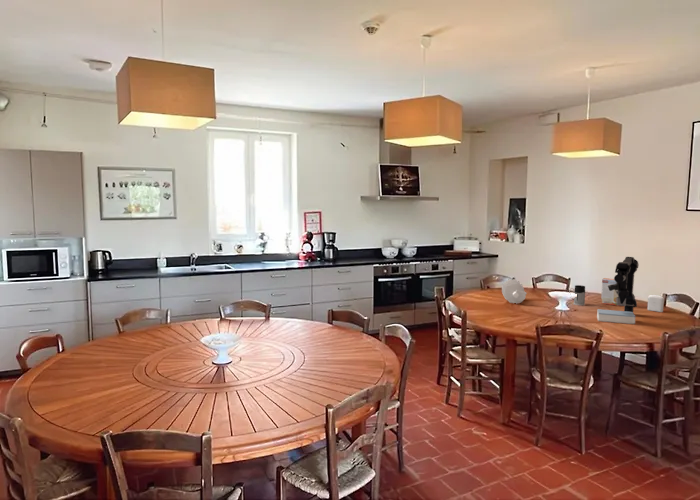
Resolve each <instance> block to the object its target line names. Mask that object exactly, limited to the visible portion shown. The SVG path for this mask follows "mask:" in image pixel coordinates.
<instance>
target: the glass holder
mask: <svg viewBox="0 0 700 500" xmlns="http://www.w3.org/2000/svg"><path fill="white" fill-rule="evenodd" d="M571 290H573V294H574V293H575V294H577V297H575V298H574V297H572V298H571V299H572V300H573V302H572V305H575V306H586V304H585V303H586V286H585V285H579V284H576V285H574V288H573V287H571V288H569V290H568V291H569V292H568V294H569V293H570V294H571Z"/></svg>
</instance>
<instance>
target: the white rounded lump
mask: <svg viewBox="0 0 700 500" xmlns="http://www.w3.org/2000/svg"><path fill="white" fill-rule="evenodd" d="M501 293H502V296H503V297H504V299H505V300H506V301H507V302H509V304H514V303H516V304H520V303H523V301H524V300H526V296H527V294H528V293H527V292H526V291H525V288H524V286H523V284H522V283H521V282H520V281H519V280H517V279H515V278H513V279H512V278H511V279H510V278H509V279H507V280H506V281H503V284H502V286H501Z"/></svg>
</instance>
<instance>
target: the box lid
mask: <svg viewBox="0 0 700 500" xmlns="http://www.w3.org/2000/svg"><path fill="white" fill-rule="evenodd" d="M596 311H598V313H599V314H603V315H615V316H626V317H635V318H636V315H635V314H634V311H633V312H627V311H624V310H613V309H600V308H597V310H596Z"/></svg>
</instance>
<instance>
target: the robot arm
mask: <svg viewBox="0 0 700 500" xmlns="http://www.w3.org/2000/svg"><path fill="white" fill-rule="evenodd" d="M638 268H639V261H638V260H637V259H635V257H633V256H625V259H624V260H623V261H619V262H618V263H616V266H615V271H614V273H616V274H615V275H614V277H613V279H614V280H615V281H616V284H612V285H608V288H609V290H610V291H612V290H615V291H616V290H617V291H616V293H617V294H618V297H620V303H621V304H623V302H624V300H625V299H626V306H623V308H624V309H623V311H627V312H633V313H634V308H637V307H638V303H637V299H636V296H635V295H634V283H635V273H637V271H638Z"/></svg>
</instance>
